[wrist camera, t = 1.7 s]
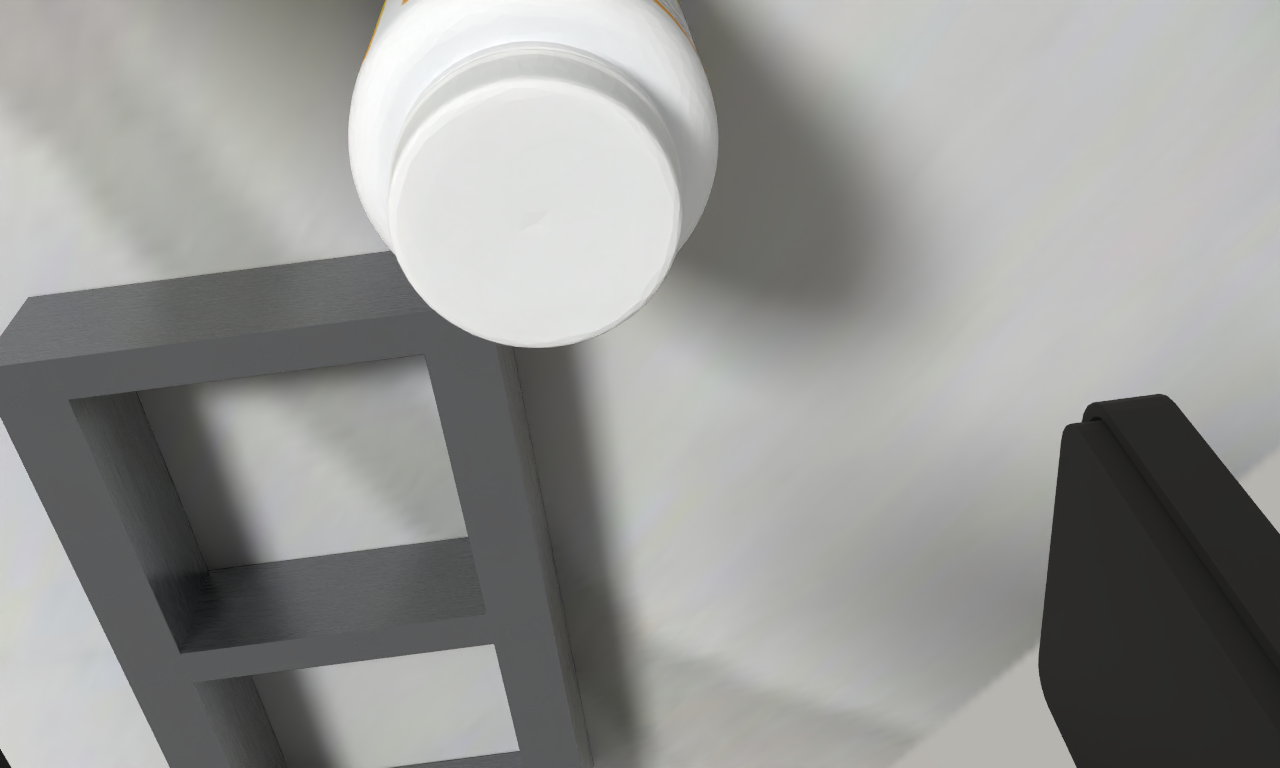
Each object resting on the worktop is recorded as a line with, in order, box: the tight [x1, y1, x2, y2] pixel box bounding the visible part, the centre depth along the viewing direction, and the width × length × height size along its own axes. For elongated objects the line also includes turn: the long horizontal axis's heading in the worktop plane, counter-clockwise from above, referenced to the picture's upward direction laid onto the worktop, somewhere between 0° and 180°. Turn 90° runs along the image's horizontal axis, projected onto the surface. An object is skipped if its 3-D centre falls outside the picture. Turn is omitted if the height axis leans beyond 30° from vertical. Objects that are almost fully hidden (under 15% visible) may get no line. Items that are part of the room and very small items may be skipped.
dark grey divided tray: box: [0, 251, 593, 768], centre depth 31 cm, size 18×10×3 cm, turn 6°
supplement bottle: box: [348, 0, 719, 348], centre depth 20 cm, size 6×6×10 cm
